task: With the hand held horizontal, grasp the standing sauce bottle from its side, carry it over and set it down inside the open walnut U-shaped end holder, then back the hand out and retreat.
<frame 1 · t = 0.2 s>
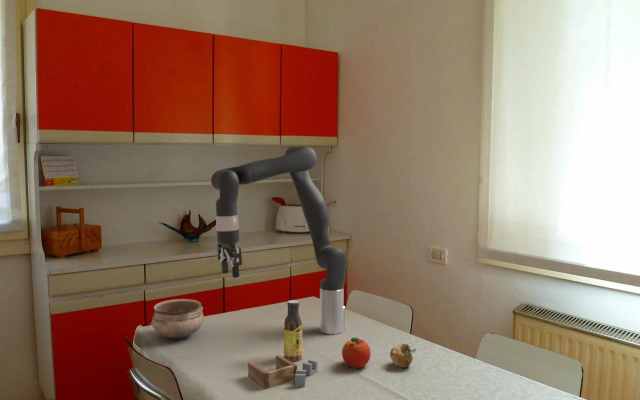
hand: (230, 275, 184), 28 cm above the table, tool pointing down, fingers open, 8 cm apart
clip a: (310, 372, 173), on the table
fruit: (356, 365, 179), on the table
onion: (401, 366, 179), on the table
end holder: (271, 377, 169), on the table
cooking pot: (178, 337, 205), on the table
sauce bottle: (293, 358, 184), on the table
clip b: (300, 383, 164), on the table
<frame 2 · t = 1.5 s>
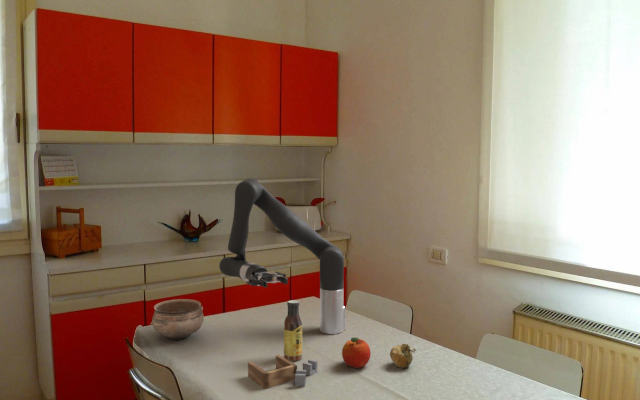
hand: (276, 283, 191), 24 cm above the table, tool horizontal, fingers open, 8 cm apart
nothing on the table moved.
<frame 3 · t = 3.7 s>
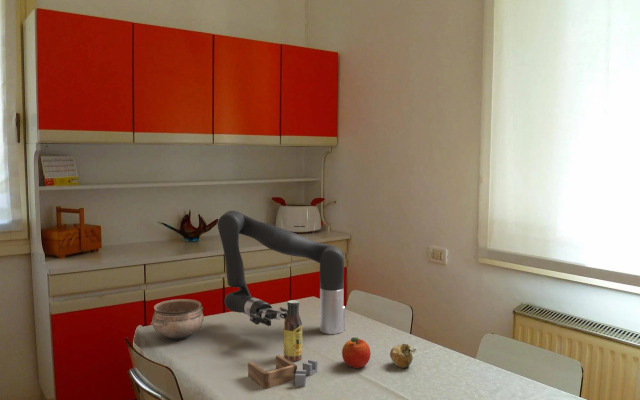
hand: (280, 320, 190), 11 cm above the table, tool horizontal, fingers open, 8 cm apart
nothing on the table moved.
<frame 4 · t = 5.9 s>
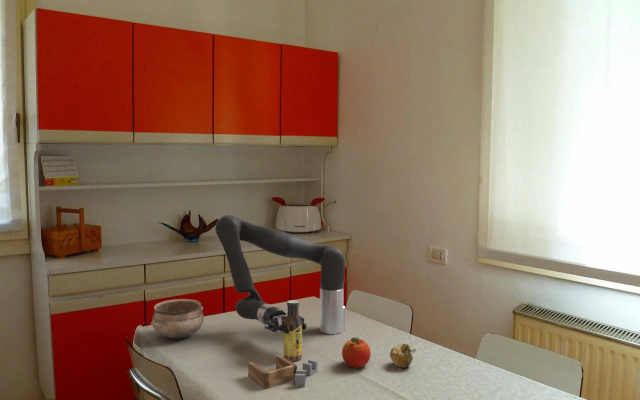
hand: (297, 328, 181), 11 cm above the table, tool horizontal, fingers closed on sauce bottle, 6 cm apart
sauce bottle: (293, 358, 184), on the table, touching gripper
everything else where it was.
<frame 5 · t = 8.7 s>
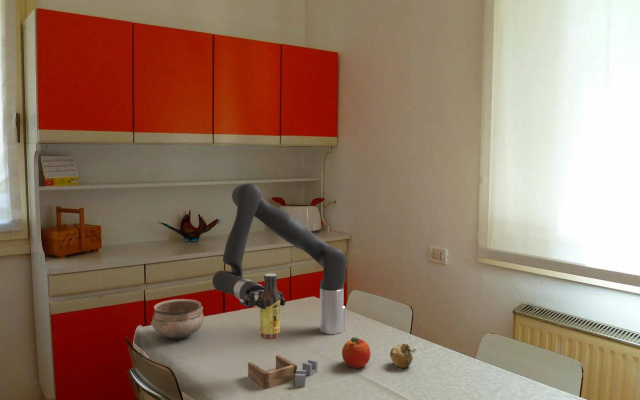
hand: (274, 304, 166), 24 cm above the table, tool horizontal, fingers closed on sauce bottle, 6 cm apart
sauce bottle: (270, 337, 169), point 13 cm above the table, touching gripper
everything else where it was.
when the fingers open (12 cm above the table, at t = 11.7 s): sauce bottle stays where it is, on the table.
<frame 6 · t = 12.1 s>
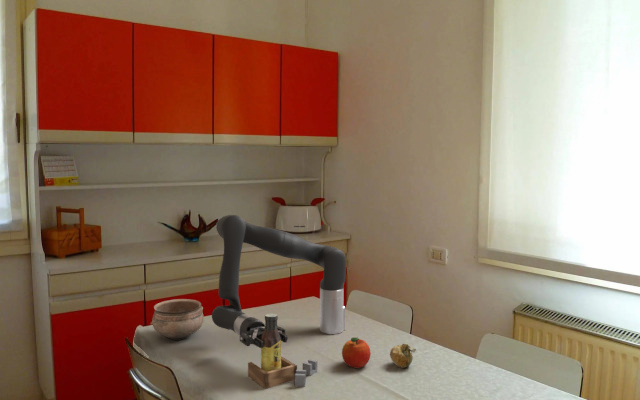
hand: (274, 342, 166), 12 cm above the table, tool horizontal, fingers open, 8 cm apart
sauce bottle: (271, 377, 169), on the table
everything else where it was.
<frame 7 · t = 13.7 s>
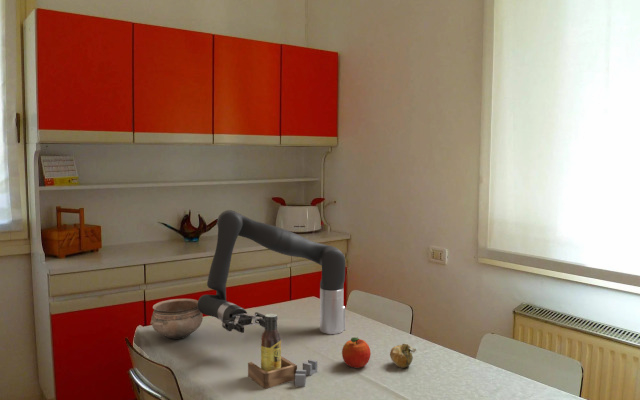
hand: (254, 327, 176), 13 cm above the table, tool horizontal, fingers open, 8 cm apart
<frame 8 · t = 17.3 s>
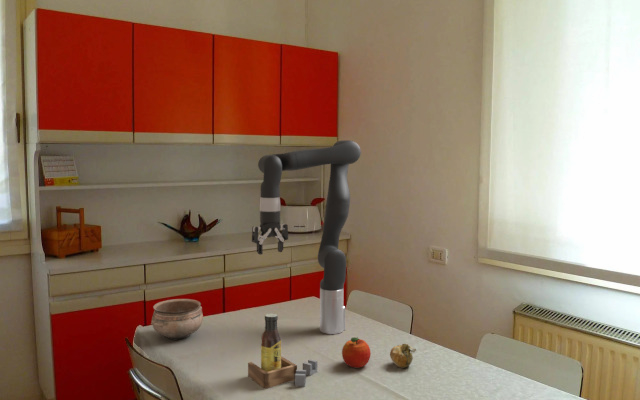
hand: (270, 253, 199), 33 cm above the table, tool pointing down, fingers open, 8 cm apart
nothing on the table moved.
at the end: sauce bottle inside the target area on the end holder (0.3 cm from its centre), point 0.0 cm above the end holder's base; sauce bottle tilted 0°; the gripper is holding nothing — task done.
